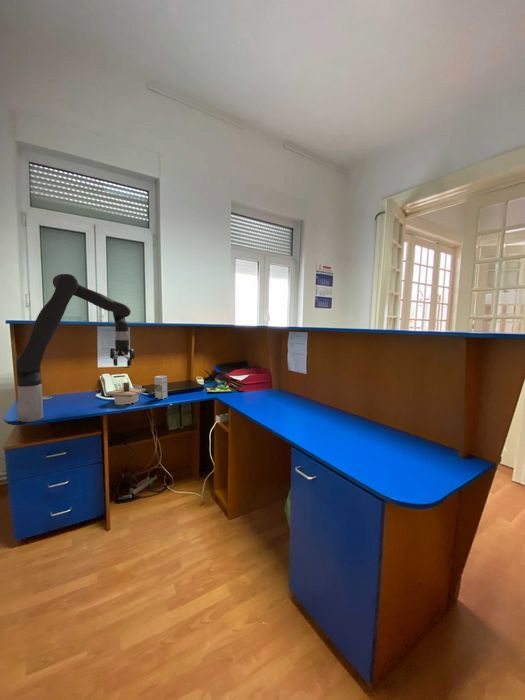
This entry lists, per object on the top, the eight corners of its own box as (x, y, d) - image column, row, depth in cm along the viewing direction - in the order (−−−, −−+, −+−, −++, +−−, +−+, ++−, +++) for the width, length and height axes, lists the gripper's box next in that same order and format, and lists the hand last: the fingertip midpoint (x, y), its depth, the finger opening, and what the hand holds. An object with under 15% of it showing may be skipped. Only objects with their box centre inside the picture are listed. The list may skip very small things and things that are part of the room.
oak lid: (131, 397, 169) (131, 386, 168) (105, 395, 171) (105, 385, 170) (145, 390, 184) (145, 380, 184) (122, 389, 186) (122, 379, 186)
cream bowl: (130, 405, 171) (130, 396, 170) (110, 404, 173) (109, 394, 172) (142, 399, 183) (142, 391, 183) (123, 398, 185) (123, 389, 185)
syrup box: (167, 397, 190) (167, 375, 188) (162, 400, 184) (162, 377, 183) (160, 396, 191) (159, 375, 190) (154, 399, 185) (154, 376, 184)
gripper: (106, 338, 171) (107, 366, 173) (129, 339, 169) (129, 367, 171) (115, 338, 179) (115, 364, 180) (136, 339, 177) (136, 365, 178)
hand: (122, 366), depth 175 cm, fingers open, 8 cm apart
